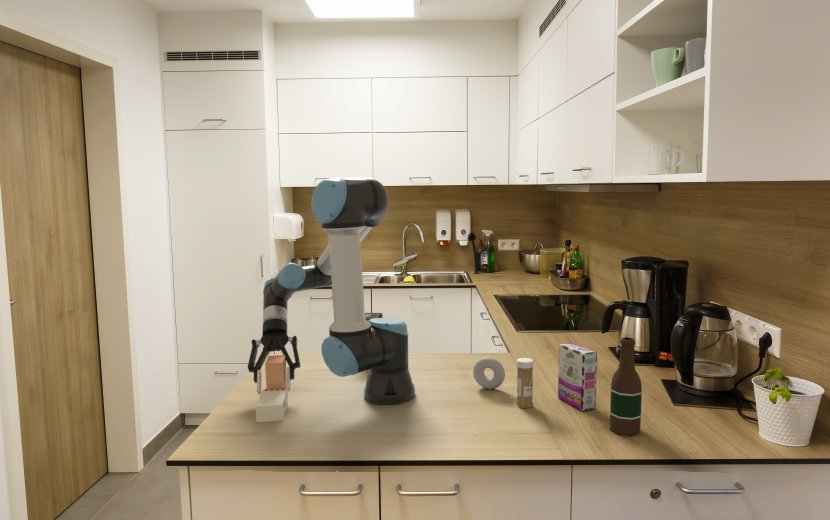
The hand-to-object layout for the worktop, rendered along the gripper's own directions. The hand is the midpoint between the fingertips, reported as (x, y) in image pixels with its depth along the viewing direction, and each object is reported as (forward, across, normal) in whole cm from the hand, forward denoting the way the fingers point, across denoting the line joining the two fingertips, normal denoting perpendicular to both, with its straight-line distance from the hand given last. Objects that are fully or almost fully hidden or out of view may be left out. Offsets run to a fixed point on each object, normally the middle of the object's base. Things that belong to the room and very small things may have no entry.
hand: (273, 390), depth 171 cm
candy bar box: (+16, -86, +5) cm, 87 cm away
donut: (+4, -64, -5) cm, 64 cm away
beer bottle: (+29, -91, +18) cm, 97 cm away
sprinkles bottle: (+14, -71, +4) cm, 72 cm away
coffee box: (-22, -30, -29) cm, 47 cm away
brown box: (0, 0, -5) cm, 5 cm away
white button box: (+8, 0, +2) cm, 8 cm away
